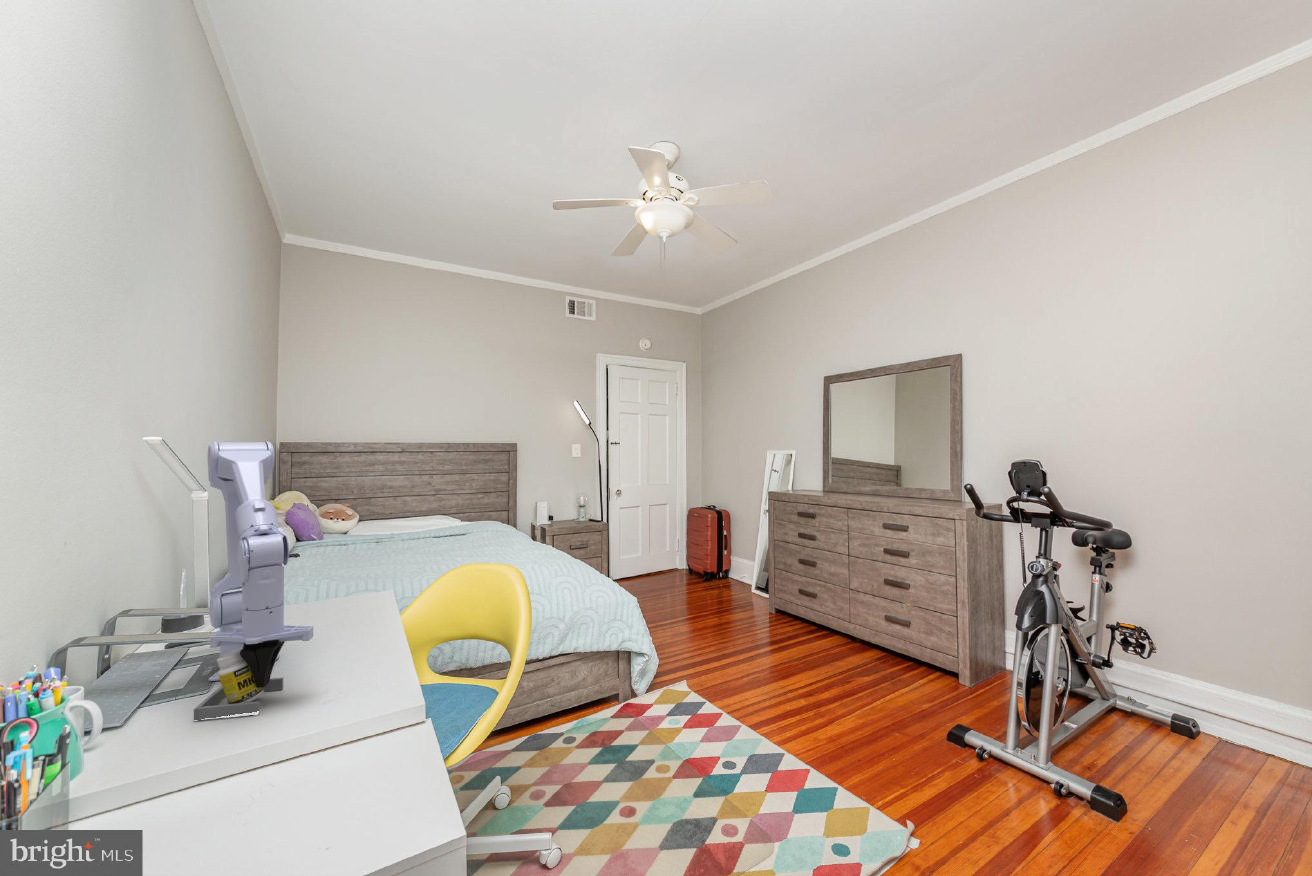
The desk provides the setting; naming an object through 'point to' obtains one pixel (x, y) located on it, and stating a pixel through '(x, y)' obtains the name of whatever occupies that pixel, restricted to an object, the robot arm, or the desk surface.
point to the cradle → (213, 710)
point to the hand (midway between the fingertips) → (263, 684)
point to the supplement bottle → (237, 678)
